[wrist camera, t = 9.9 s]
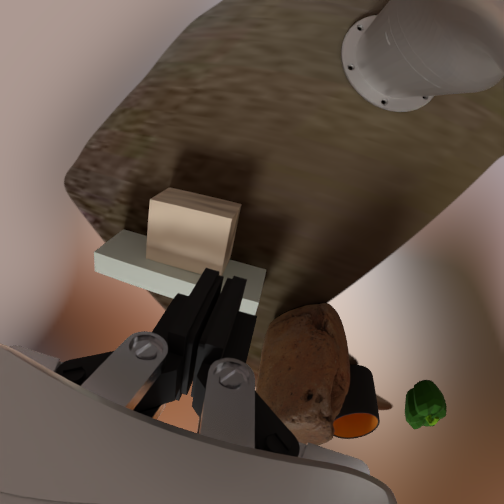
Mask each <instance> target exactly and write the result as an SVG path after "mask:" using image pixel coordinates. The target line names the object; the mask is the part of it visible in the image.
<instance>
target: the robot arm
mask: <svg viewBox="0 0 504 504" xmlns="http://www.w3.org/2000/svg"><path fill="white" fill-rule="evenodd" d="M357 28H360V29H361V31H359V30H358V29H357ZM341 60H342V66H343V69H344V72H345V74H346V77H347V78H348V80H349V82H350V84H351V85H352V86H353V88H354V89H355V90H356V91H357V92H358V93H359V94H360V95H361V96H362V97H363V98H364V99H365V100H367V101H368V102H370V103H372V104H373V105H375V106H377V107H380V108H382V109H385V110H389V111H395V112H406V111H412V110H416V109H418V108H420V107H422V106H424V105H426V104H427V103H428V102H429V101H430V100H431V99H432V98H433V96H434V95H445V94H458V93H472V92H479V91H483V90H486V89H488V88H490V87H492V86H494V85H495V84H497V83H498V82H499V81H500V80H501V79H502V78H503V76H504V0H389V2H388V3H387V4H386V5H385V7H384V8H383V9H382V10H381V12H380V13H379V14H378V15H372V16H369V17H365V18H363V19H361V20H359V21H358V22H356V23H355V24H354V25H353V26H352V27H351V28H350V29H349V31H348V32H347V34H346V36H345V38H344V40H343V44H342V48H341ZM349 66H350V67H352V70H349V69H348V67H349ZM422 97H424V99H423V98H422ZM382 100H383V101H384V102H385V103H384V104H382V103H381V101H382ZM219 273H220V272H219V271H216V270H213V269H209V268H205V270H204V272H203V273H202V275H201V277H200V278H199V280H198V282H197V283H196V285H195V287H194V288H193V290H192V292H191V293H190V295H189V296H186V295H183V294H180V293H178V294H177V295H176V296H175V297H174V299H173V300H172V302H171V303H170V305H169V306H168V308H167V310H166V311H165V313H164V314H163V316H162V317H161V319H160V321H159V322H158V324H157V325H156V327H155V328H154V330H153V331H152V332H145V331H144V332H138V333H135V334H132V335H131V336H130V337H128V338H127V339H126V340H125V341H124V342H123V343H122V344H121V345H120V346H119V347H118V348H117V349H116V350H115V351H112V352H107V353H102V354H97V355H92V356H87V357H82V358H77V359H72V360H68V361H65V362H60V359H59V358H55V357H52V356H49V355H45V354H42V353H39V352H36V351H33V350H29V349H27V348H24V347H21V346H10V347H8V346H6V345H3V344H1V343H0V504H397V501H396V498H395V496H394V494H393V492H392V491H391V489H390V488H389V487H388V486H387V485H386V484H384V483H383V482H381V481H380V480H378V479H376V478H374V477H373V476H370V471H369V469H368V467H367V465H366V464H365V463H364V462H363V461H362V460H359V459H357V458H354V457H351V456H348V455H344V454H341V453H338V452H335V451H332V450H329V449H326V448H323V447H320V446H317V445H315V444H312V443H309V442H308V443H307V444H304V443H301V442H298V440H297V438H296V437H295V435H294V434H293V433H292V432H291V431H290V430H289V429H288V428H287V427H286V425H285V424H284V423H283V422H282V421H281V420H280V419H279V418H278V416H277V415H276V414H275V413H274V412H273V411H272V410H271V409H270V407H269V406H268V405H267V404H266V403H265V402H264V400H263V399H262V398H261V397H260V396H259V395H258V393H257V392H256V391H255V377H254V372H253V371H252V369H251V368H250V367H249V366H248V365H247V364H246V360H247V356H248V352H249V348H250V344H251V339H252V335H253V331H254V327H255V323H256V318H257V316H255V315H252V314H248V313H244V312H241V311H239V310H240V306H241V302H242V298H243V294H244V290H245V286H246V282H247V279H244V278H241V277H237V276H233V278H232V279H231V278H227V280H226V282H225V284H224V286H223V289H222V291H221V288H222V283H223V278H224V276H220V275H219ZM192 381H193V386H192V392H191V397H193V403H192V407H193V408H194V410H195V412H196V413H197V415H198V416H199V423H198V429H197V433H194V432H191V431H188V430H184V429H182V428H178V427H176V426H173V425H170V424H167V423H164V422H162V421H159V420H157V419H158V417H159V416H160V414H161V413H162V411H163V410H164V408H165V406H166V403H168V402H172V401H174V400H178V401H179V399H180V397H181V395H182V394H186V395H187V394H188V391H189V389H190V386H191V384H192Z"/></svg>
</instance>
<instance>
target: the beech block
mask: <svg viewBox="0 0 504 504" xmlns="http://www.w3.org/2000/svg"><path fill="white" fill-rule="evenodd" d="M241 205H242V204H239V203H235V202H231V201H226V200H222V199H218V198H214V197H210V196H205V195H201V194H197V193H192V192H188V191H184V190H179V189H175V188H170V187H169V188H167V189H166V190H164V191H162V192H161V193H159V194H158V195H156V196H154V197H153V198H151V199H150V205H149V217H148V230H147V247H146V259H149V260H153V261H156V262H160V263H163V264H166V265H170V266H173V267H177V268H180V269H184V270H187V271H191V272H194V273H198V274H201V275H202V273H203V272H204V270H205V268H209V269H213V270H216V271H219V272H220V273H219V275H220V276H222V275H223V273H224V271H225V269H226V267H227V264H228V262H229V260H230V258H231V253H232V248H233V243H234V238H235V233H236V229H237V224H238V219H239V214H240V209H241Z"/></svg>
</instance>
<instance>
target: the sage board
mask: <svg viewBox="0 0 504 504" xmlns="http://www.w3.org/2000/svg"><path fill="white" fill-rule="evenodd" d="M146 247H147V236H145V235H141V234H138V233H135V232H131V231H128V230H122V231H121V232H119V233H118V234H117V235H115V236H114V237H113V238H111V239H110V240H109V241H108V242H106V243H105V244H104V245H103V246H101V247H100V248H99V249H97V250H96V251H95V252H94V260H95V271H96V272H98V273H101V274H104V275H106V276H109V277H112V278H115V279H117V280H120V281H123V282H126V283H129V284H132V285H135V286H138V287H140V288H143V289H146V290H149V291H152V292H155V293H158V294H161V295H164V296H167V297H170V298H174V297H175V296H176V295H177V294H178V293H180V294H183V295H186V296H189V295H190V293H191V292H192V290H193V288H194V287H195V285H196V283H197V282H198V280H199V278H200V277H201V274H198V273H194V272H191V271H187V270H184V269H180V268H177V267H173V266H170V265H166V264H163V263H160V262H156V261H153V260H149V259H146ZM265 274H266V269H262V268H259V267H255V266H251V265H248V264H244V263H241V262H237V261H233V260H229V262H228V264H227V267H226V269H225V271H224V273H223V275H222V276H224V278H223V283H222V288H221V291H222V289H223V286H224V284H225V282H226V280H227V278H231V279H232V278H233V276H237V277H241V278H244V279H247V282H246V286H245V290H244V294H243V298H242V302H241V306H240V310H239V311H241V312H244V313H248V314H252V315H255V313H256V310H257V307H258V303H259V299H260V295H261V291H262V287H263V283H264V279H265Z"/></svg>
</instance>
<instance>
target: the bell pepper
mask: <svg viewBox="0 0 504 504" xmlns="http://www.w3.org/2000/svg"><path fill="white" fill-rule="evenodd" d="M405 416H406V421H407V422H408V423H409V424H410V425H411V426H412V428H413V429H418V428H420V427H421V426H434V425H435V424H436V423H437V422H438V421H439V420H440V419H441V418H443V417H445V416H446V403H445V399H444V396H443V394H442V393H441V391H440V390H439V388H438V387H437V386H436V385H435V384H434V383H433V382H432V381H430V380H423V381H419V382H418V383H417V384H415V385H414V388H412V389H410V390H409V391H408V392H407V394H406V404H405Z"/></svg>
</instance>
